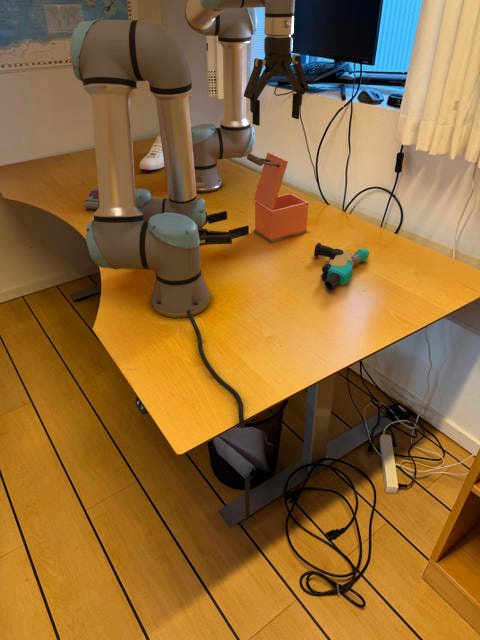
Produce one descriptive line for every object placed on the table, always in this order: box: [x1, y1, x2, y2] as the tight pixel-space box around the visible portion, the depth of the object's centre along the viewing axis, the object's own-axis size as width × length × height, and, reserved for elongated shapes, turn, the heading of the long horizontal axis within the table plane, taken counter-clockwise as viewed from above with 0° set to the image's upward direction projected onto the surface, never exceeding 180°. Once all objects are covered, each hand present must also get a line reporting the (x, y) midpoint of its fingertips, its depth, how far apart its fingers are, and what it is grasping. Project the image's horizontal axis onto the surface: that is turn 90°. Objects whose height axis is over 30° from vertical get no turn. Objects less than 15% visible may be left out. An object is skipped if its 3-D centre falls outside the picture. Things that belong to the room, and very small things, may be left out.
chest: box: [254, 192, 309, 243], centre depth 156 cm, size 14×10×10 cm
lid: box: [246, 151, 289, 210], centre depth 144 cm, size 15×10×9 cm
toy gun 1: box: [82, 188, 100, 210], centre depth 178 cm, size 4×19×15 cm
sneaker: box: [139, 134, 165, 171], centre depth 214 cm, size 10×29×12 cm, turn 163°
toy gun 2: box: [313, 242, 370, 292], centre depth 136 cm, size 4×26×15 cm
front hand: (237, 222), depth 148 cm, fingers open, 13 cm apart
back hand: (276, 121), depth 137 cm, fingers open, 13 cm apart
